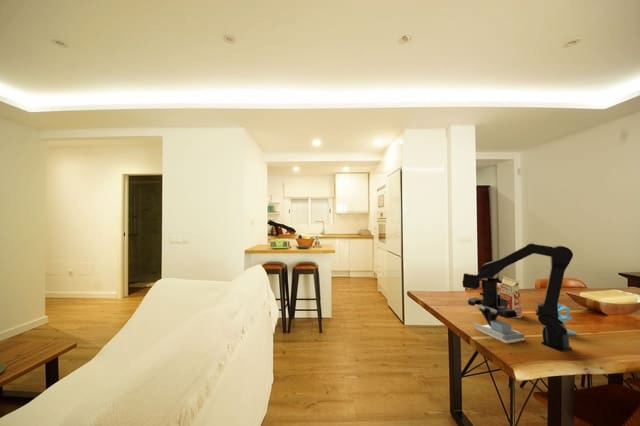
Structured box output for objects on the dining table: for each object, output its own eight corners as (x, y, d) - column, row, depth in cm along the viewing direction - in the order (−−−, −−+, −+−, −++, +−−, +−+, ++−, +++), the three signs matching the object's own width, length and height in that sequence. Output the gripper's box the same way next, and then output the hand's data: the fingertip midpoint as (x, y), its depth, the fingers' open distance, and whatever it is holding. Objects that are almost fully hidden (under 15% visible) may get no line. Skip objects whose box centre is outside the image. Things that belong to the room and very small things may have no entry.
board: (524, 340, 96) (524, 333, 96) (506, 343, 93) (505, 336, 94) (491, 326, 109) (491, 321, 110) (474, 328, 107) (474, 323, 107)
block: (511, 335, 98) (511, 324, 98) (502, 336, 97) (502, 325, 97) (499, 330, 103) (499, 319, 103) (491, 331, 102) (490, 320, 102)
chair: (541, 328, 107) (539, 302, 108) (555, 327, 108) (553, 301, 109) (561, 336, 99) (558, 307, 100) (576, 334, 101) (574, 306, 101)
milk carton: (496, 313, 126) (494, 276, 128) (506, 310, 130) (504, 274, 132) (516, 319, 118) (513, 279, 120) (525, 316, 122) (523, 277, 124)
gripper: (525, 296, 98) (527, 333, 97) (484, 285, 116) (485, 317, 116) (505, 297, 96) (507, 336, 95) (466, 286, 114) (467, 319, 113)
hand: (491, 326), depth 104 cm, fingers closed
